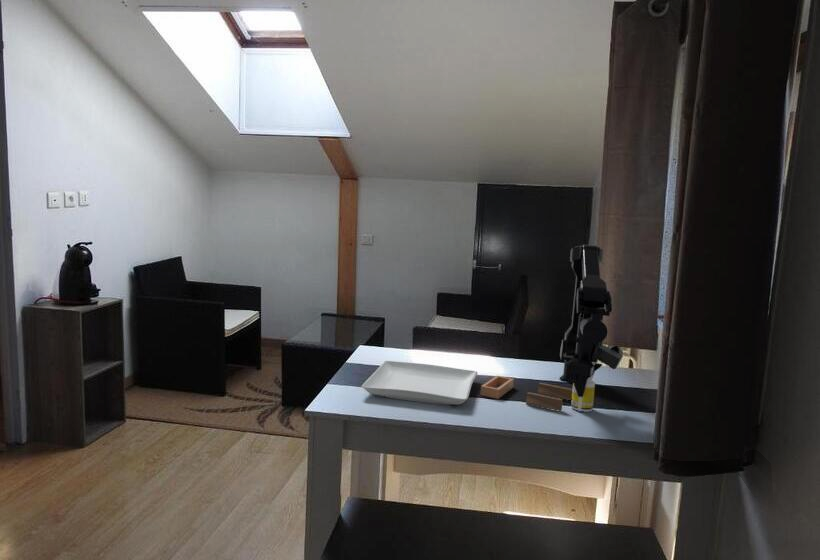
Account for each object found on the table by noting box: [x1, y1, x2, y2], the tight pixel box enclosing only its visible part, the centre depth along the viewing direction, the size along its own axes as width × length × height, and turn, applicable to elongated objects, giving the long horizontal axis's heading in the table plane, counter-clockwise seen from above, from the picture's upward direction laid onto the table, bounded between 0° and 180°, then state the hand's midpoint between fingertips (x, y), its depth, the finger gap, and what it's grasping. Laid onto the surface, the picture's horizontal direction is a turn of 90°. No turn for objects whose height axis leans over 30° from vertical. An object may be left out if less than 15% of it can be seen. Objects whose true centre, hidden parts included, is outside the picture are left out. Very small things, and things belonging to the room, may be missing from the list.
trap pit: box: [480, 375, 515, 400], centre depth 176 cm, size 12×5×2 cm, turn 152°
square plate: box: [361, 360, 478, 406], centre depth 174 cm, size 27×27×4 cm
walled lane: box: [525, 382, 573, 412], centre depth 169 cm, size 11×9×3 cm
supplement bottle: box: [570, 375, 596, 413], centre depth 165 cm, size 5×5×10 cm
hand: (583, 393), depth 165 cm, fingers closed on supplement bottle, 5 cm apart
